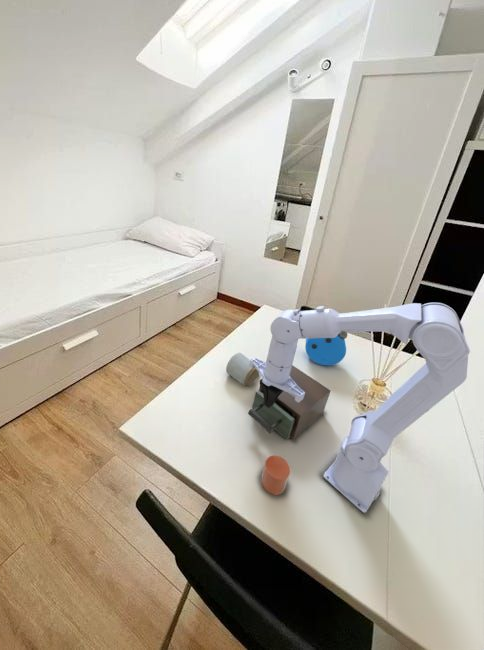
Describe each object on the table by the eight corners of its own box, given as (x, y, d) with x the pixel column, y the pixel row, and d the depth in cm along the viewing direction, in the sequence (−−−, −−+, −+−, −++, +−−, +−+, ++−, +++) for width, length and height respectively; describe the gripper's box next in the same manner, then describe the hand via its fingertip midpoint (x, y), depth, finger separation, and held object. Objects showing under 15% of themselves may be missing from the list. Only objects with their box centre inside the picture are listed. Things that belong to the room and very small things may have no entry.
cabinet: (293, 439, 73) (300, 415, 70) (255, 407, 82) (259, 384, 79) (323, 412, 83) (330, 390, 79) (286, 385, 91) (291, 364, 88)
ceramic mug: (244, 392, 87) (248, 371, 84) (224, 377, 92) (227, 357, 89) (264, 377, 94) (269, 357, 91) (244, 364, 99) (248, 345, 96)
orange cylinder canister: (290, 484, 63) (295, 469, 61) (275, 500, 60) (280, 484, 58) (271, 465, 66) (275, 450, 64) (256, 479, 63) (260, 464, 61)
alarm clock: (338, 360, 106) (350, 325, 100) (340, 371, 101) (352, 334, 95) (302, 351, 109) (311, 316, 104) (301, 360, 104) (311, 324, 98)
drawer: (274, 451, 69) (279, 431, 66) (239, 418, 77) (242, 399, 74) (315, 414, 80) (321, 396, 78) (281, 389, 88) (286, 372, 86)
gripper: (244, 349, 68) (236, 393, 74) (296, 386, 59) (283, 433, 64) (263, 340, 73) (255, 382, 78) (315, 372, 63) (301, 418, 69)
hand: (268, 404), depth 72 cm, fingers closed
